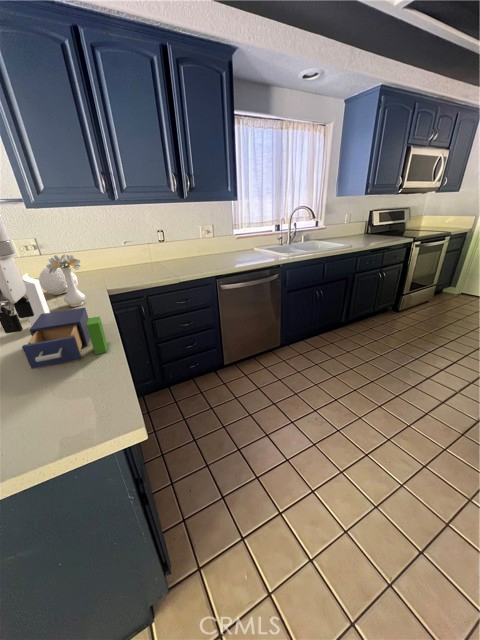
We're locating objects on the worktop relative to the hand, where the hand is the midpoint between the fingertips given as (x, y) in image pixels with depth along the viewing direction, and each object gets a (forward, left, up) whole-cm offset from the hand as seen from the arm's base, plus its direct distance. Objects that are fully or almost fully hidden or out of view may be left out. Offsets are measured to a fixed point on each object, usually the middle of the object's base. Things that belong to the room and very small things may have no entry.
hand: (21, 323), depth 63 cm
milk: (-12, +51, -20) cm, 56 cm away
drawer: (0, +17, -19) cm, 26 cm away
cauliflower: (-14, +102, -20) cm, 105 cm away
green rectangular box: (+12, +19, -20) cm, 30 cm away
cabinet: (0, +31, -20) cm, 37 cm away
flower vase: (-3, +75, -20) cm, 78 cm away
